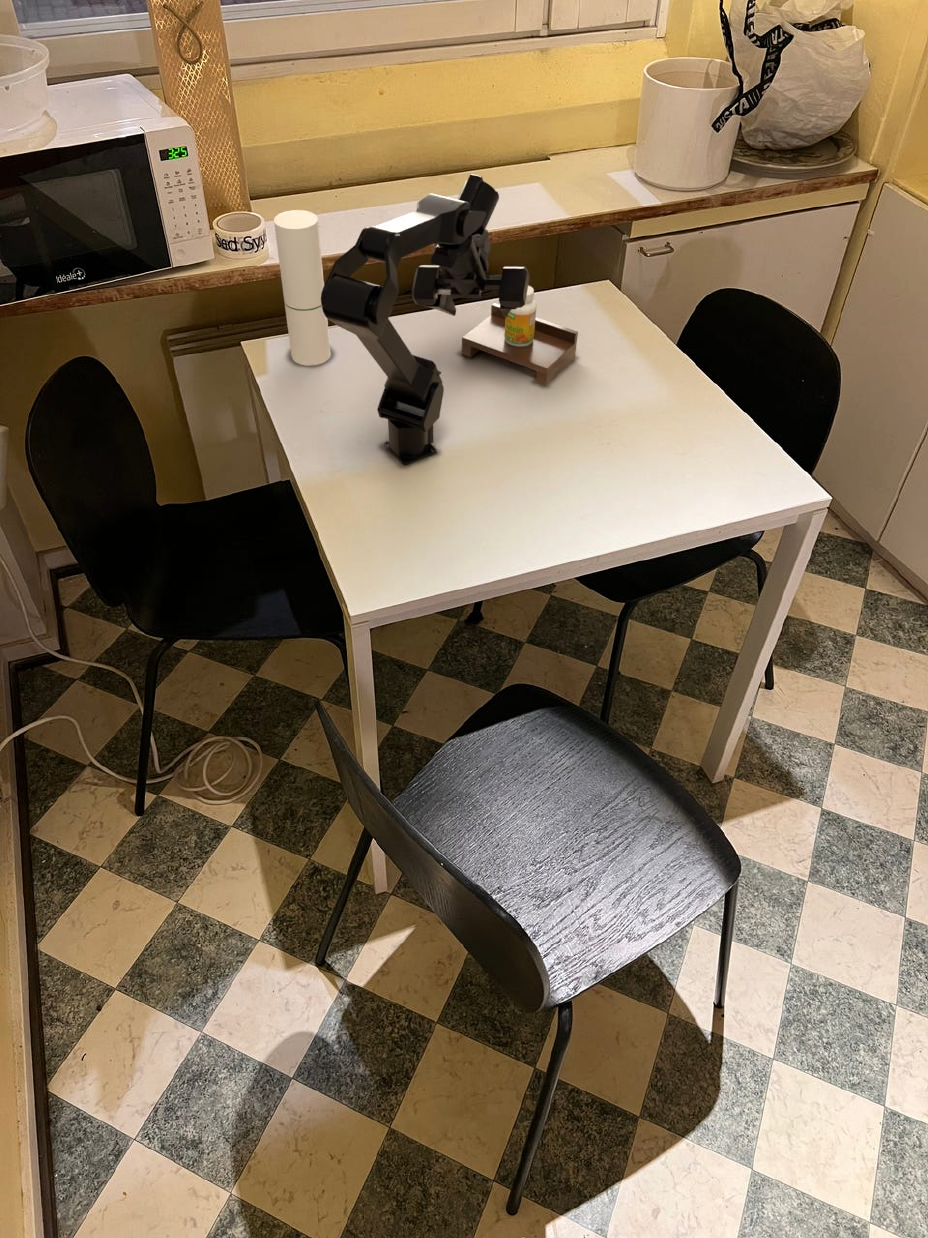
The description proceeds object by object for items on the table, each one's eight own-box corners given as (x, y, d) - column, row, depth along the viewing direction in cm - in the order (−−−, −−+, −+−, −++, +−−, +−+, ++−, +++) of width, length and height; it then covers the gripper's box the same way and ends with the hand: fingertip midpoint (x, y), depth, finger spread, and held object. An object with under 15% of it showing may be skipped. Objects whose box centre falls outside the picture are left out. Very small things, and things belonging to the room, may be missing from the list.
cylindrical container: (334, 346, 170) (321, 211, 152) (326, 366, 165) (312, 230, 147) (296, 343, 170) (279, 208, 152) (287, 363, 166) (269, 227, 147)
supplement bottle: (498, 342, 166) (501, 292, 159) (512, 329, 169) (515, 279, 162) (525, 350, 164) (529, 300, 157) (538, 336, 167) (543, 286, 160)
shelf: (545, 385, 163) (548, 358, 159) (461, 354, 169) (462, 327, 165) (574, 358, 169) (578, 331, 165) (492, 329, 176) (494, 302, 171)
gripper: (526, 213, 140) (540, 272, 155) (412, 213, 145) (436, 270, 160) (515, 277, 138) (531, 331, 153) (399, 275, 143) (425, 328, 158)
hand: (480, 313), depth 156 cm, fingers open, 9 cm apart
